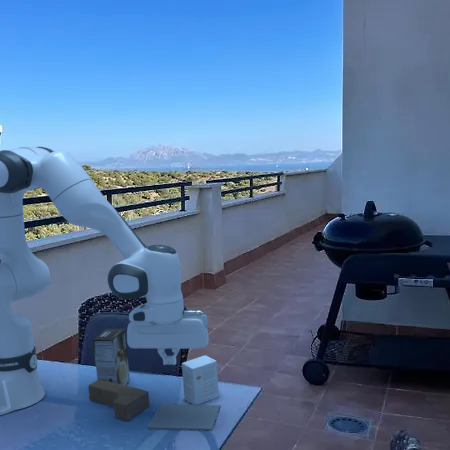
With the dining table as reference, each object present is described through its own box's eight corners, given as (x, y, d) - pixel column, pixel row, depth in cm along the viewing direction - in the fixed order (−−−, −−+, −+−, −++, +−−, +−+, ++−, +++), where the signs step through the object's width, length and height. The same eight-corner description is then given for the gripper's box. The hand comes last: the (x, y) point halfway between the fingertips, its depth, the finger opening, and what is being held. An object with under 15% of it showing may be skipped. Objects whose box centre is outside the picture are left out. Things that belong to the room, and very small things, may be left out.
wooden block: (125, 405, 135) (75, 391, 144) (127, 421, 135) (76, 407, 145) (148, 390, 142) (99, 378, 152) (150, 406, 143) (100, 393, 152)
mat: (147, 429, 131) (147, 427, 131) (160, 405, 143) (160, 403, 143) (212, 430, 129) (212, 428, 129) (220, 406, 141) (220, 405, 141)
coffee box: (110, 379, 162) (105, 328, 159) (130, 380, 160) (126, 328, 158) (97, 393, 153) (92, 339, 150) (119, 394, 152) (114, 339, 149)
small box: (208, 390, 151) (205, 354, 149) (219, 397, 146) (217, 360, 145) (183, 399, 146) (181, 362, 145) (194, 406, 142) (192, 368, 140)
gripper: (209, 306, 134) (213, 359, 136) (130, 307, 137) (135, 359, 139) (204, 314, 128) (208, 369, 130) (122, 314, 131) (127, 369, 133)
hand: (169, 364), depth 135 cm, fingers closed
